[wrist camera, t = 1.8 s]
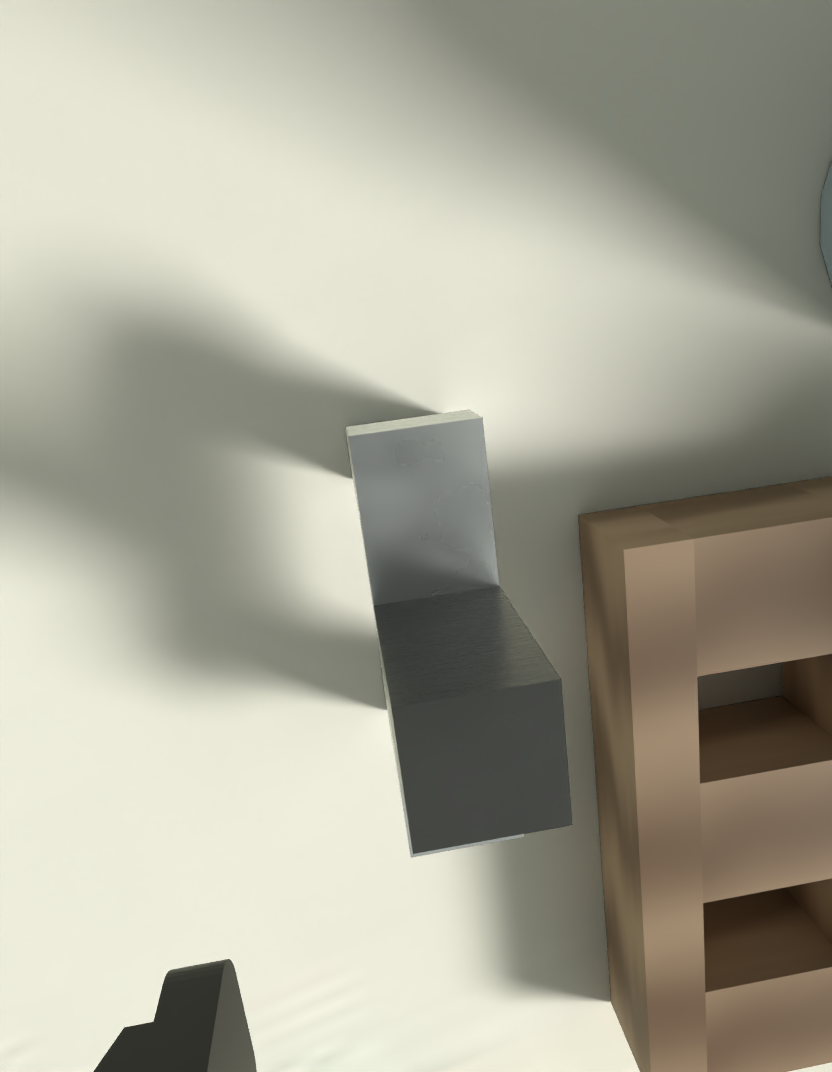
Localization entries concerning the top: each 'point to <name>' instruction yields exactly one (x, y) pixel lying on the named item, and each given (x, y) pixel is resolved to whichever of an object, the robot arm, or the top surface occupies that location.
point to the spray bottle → (827, 223)
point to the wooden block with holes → (715, 775)
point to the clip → (454, 642)
